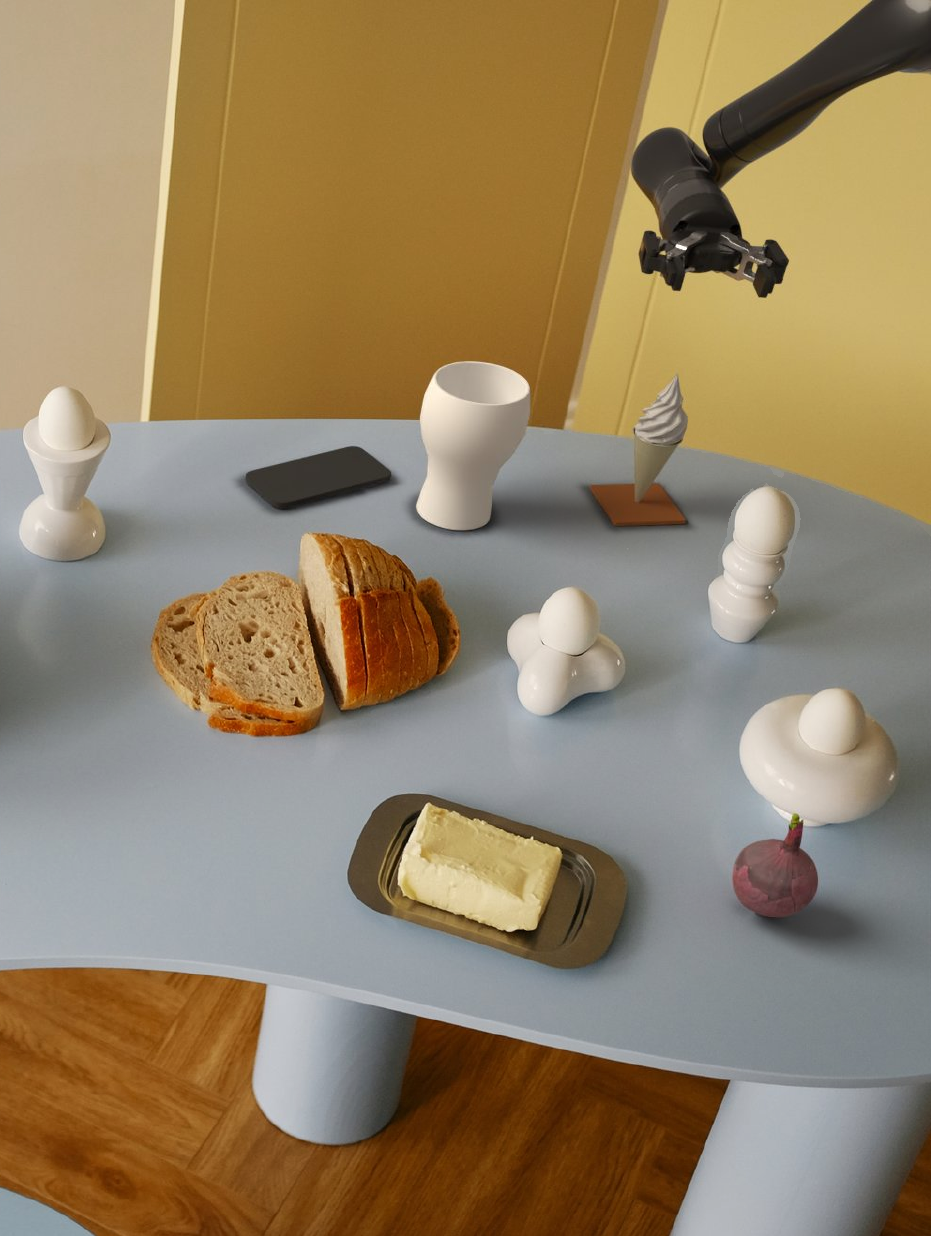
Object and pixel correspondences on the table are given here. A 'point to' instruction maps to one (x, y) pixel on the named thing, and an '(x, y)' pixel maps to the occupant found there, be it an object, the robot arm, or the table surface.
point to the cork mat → (637, 505)
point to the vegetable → (776, 875)
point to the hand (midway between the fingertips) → (722, 286)
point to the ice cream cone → (658, 436)
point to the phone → (317, 476)
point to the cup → (469, 439)
